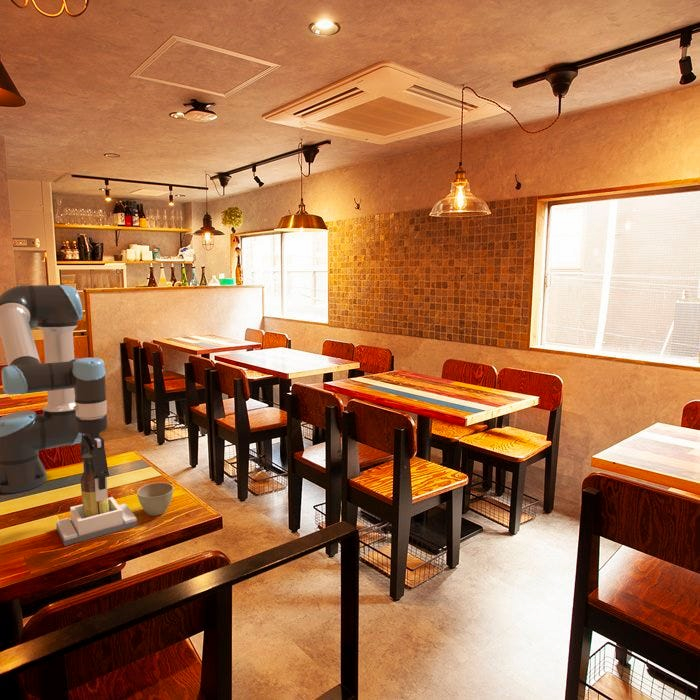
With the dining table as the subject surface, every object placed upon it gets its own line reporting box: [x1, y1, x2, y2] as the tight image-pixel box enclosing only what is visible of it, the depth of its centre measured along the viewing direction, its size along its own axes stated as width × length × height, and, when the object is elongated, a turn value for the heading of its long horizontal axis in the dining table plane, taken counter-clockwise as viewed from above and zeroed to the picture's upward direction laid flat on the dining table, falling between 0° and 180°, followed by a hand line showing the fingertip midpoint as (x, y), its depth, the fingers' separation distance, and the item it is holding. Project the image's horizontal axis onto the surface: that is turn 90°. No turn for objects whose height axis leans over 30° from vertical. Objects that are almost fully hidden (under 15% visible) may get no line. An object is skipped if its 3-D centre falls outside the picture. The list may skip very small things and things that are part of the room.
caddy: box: [55, 496, 138, 547], centre depth 142 cm, size 11×18×6 cm, turn 129°
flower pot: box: [136, 482, 174, 517], centre depth 151 cm, size 10×10×7 cm
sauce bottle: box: [80, 453, 109, 518], centre depth 141 cm, size 6×6×20 cm
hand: (95, 490), depth 141 cm, fingers open, 13 cm apart
